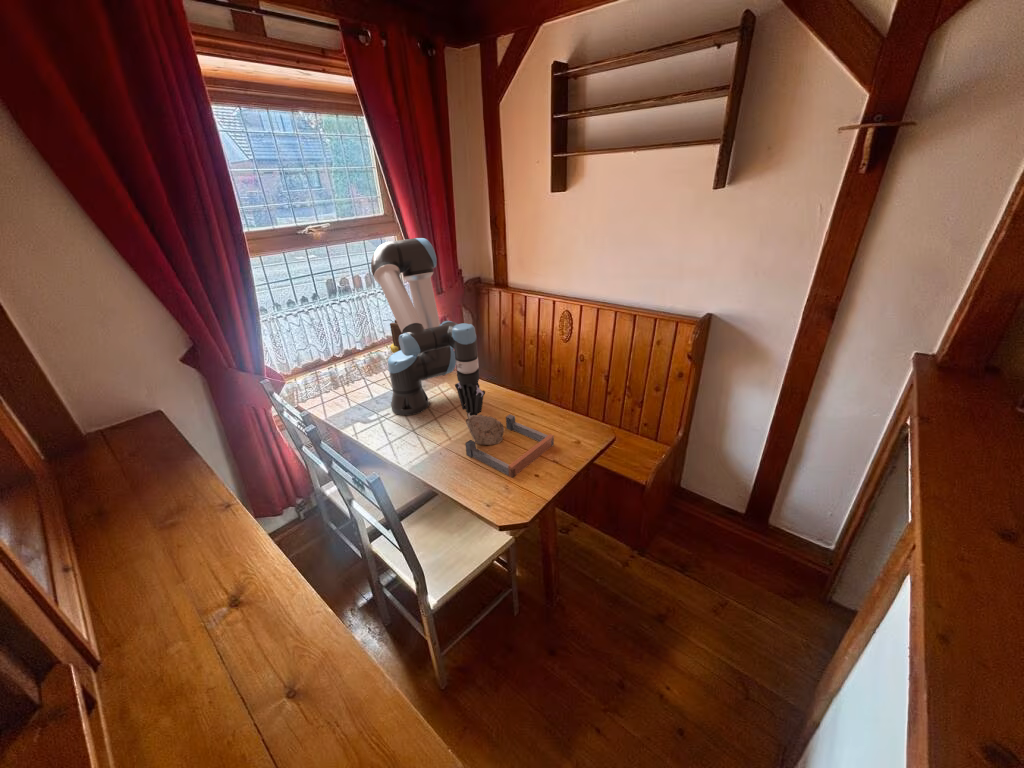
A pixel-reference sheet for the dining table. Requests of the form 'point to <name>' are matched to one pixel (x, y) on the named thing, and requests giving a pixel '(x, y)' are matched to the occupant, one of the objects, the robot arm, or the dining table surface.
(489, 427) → the rock
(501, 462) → the frame
